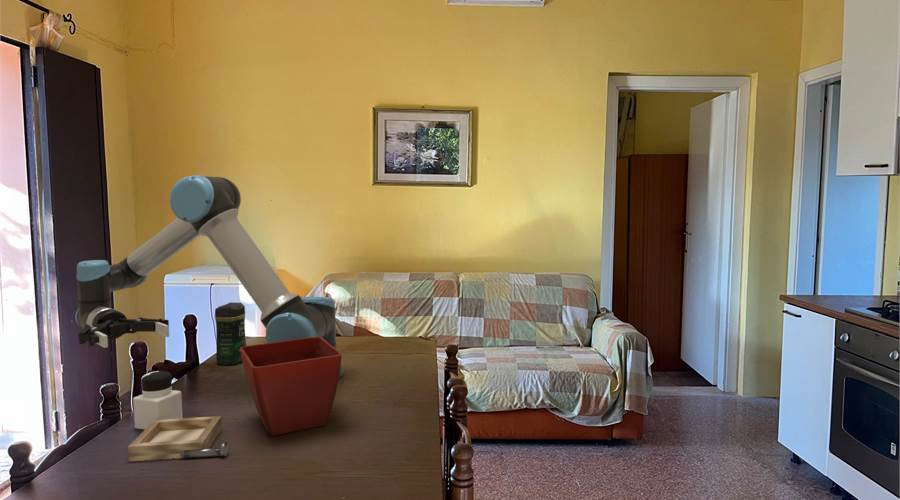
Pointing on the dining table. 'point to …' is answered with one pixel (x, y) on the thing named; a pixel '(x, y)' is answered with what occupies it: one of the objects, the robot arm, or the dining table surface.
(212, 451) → the pin
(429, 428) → the dining table surface
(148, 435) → the wooden tray
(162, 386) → the medicine bottle
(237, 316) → the coffee jar
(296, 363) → the plant pot
